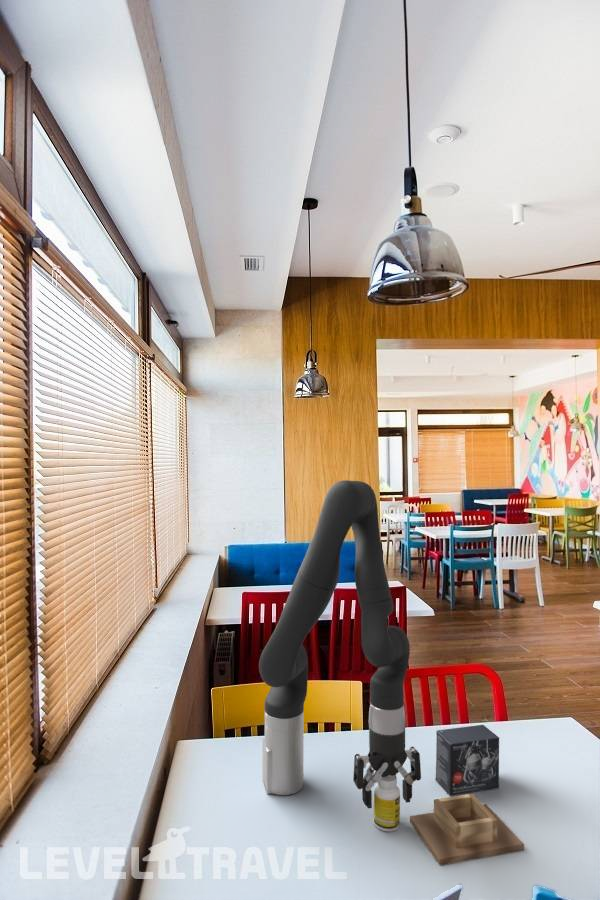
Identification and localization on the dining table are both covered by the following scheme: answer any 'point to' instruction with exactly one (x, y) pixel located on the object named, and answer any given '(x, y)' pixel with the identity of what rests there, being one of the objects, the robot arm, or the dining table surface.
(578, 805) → the dining table surface
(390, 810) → the supplement bottle
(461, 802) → the holder stand
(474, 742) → the small box
